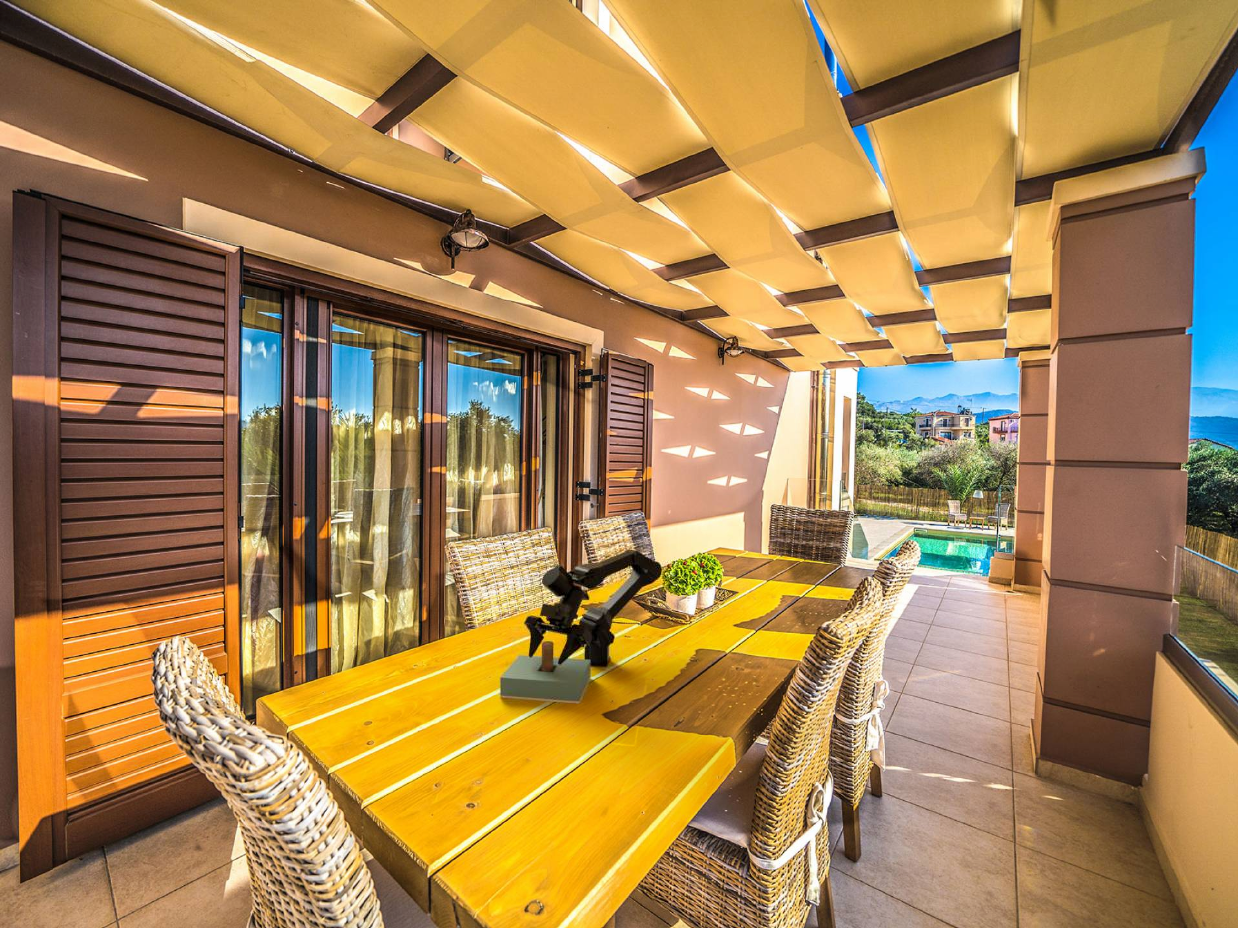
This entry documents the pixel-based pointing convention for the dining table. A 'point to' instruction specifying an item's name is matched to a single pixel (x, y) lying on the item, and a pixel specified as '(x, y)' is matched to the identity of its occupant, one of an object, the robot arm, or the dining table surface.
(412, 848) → the dining table surface
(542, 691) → the board
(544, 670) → the pin
